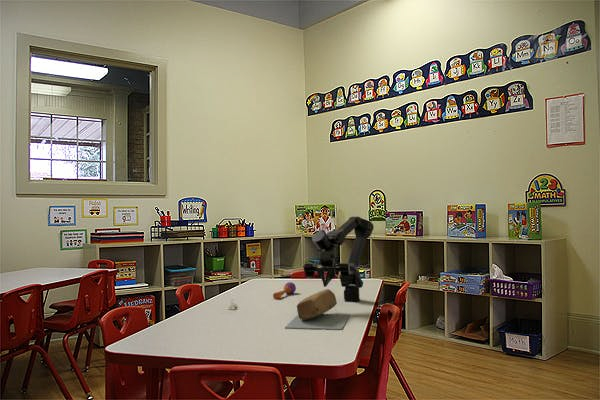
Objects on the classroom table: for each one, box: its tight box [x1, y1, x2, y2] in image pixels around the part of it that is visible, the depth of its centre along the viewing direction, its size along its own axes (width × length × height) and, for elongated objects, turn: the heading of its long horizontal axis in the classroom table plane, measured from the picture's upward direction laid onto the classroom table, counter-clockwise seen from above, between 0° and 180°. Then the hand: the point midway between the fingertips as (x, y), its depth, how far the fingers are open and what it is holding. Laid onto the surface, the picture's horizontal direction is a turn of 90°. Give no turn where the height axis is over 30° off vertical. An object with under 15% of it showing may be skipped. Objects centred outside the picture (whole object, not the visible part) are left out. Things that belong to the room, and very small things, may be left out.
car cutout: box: [227, 298, 238, 310], centre depth 207 cm, size 15×7×4 cm, turn 171°
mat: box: [284, 313, 350, 331], centre depth 181 cm, size 20×24×1 cm
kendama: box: [272, 281, 297, 300], centre depth 241 cm, size 6×6×20 cm
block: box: [296, 288, 338, 320], centre depth 188 cm, size 11×8×20 cm
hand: (324, 286), depth 198 cm, fingers closed
